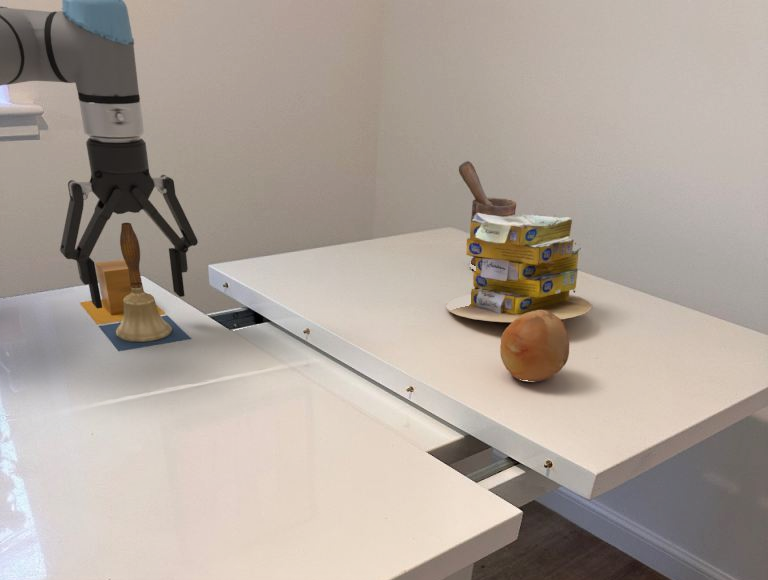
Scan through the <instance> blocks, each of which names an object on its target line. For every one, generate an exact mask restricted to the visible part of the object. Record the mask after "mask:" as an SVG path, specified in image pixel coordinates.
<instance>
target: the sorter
mask: <svg viewBox="0 0 768 580" xmlns="http://www.w3.org/2000/svg"><path fill="white" fill-rule="evenodd" d="M101 303H102V298H101ZM79 305H80V306H81V307H82V308H83V310H84V311H85V312H86V313H87V315H89V317H90V318H91V319H92V321H93V322H94V323H95V324H96V325H97V326H98V328H99V329H100V330H101V331H102V333H103V334H104V336H105V337H106V338H107V339H108V340H109V341H110V343H111V345H113V347H114V348H115V349H116V350H117V351H118V352H124V351H129V350H135V349H141V348H147V347H153V346H159V345H164V344H170V343H176V342H182V341H188V340H192V337H191V336H189V335H188V333H186V332H185V331H184V330H183V329H182V328H181V327H180V325H178V324H177V323H176V322H175V321H174V320H173V319H172V318H171V317H170V316H169V315H167V314H166V312H165V311H163V309H161V307H159V305H157V304H156V306H157V309H158V311H159V314H160V315H161V317H162V318H163V320H164V321H166V322H167V323H168V324H169V325H170V326H171V328H172V332H171V334H169V335H168V336H167V337H165V338H162V339H159V340H155V341H150V342H130V341H125V340H122V339H120V338H119V337H117V335H116V330H117V328H118V326H119V325H120V324H121V322H122V320H123V315H124V313H123V314H116V315H111V314H110V313H109V312H108V310H107V309H106V308H105V307H104V306H103V303H102V308H98V309H97V308H96V307H95V306H94V304H93V303H92V300H86V301H81V302H79Z"/></svg>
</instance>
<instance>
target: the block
mask: <svg viewBox="0 0 768 580" xmlns="http://www.w3.org/2000/svg"><path fill="white" fill-rule="evenodd" d="M94 264H95V269H96V275H97V280H98V286H99V292H100V297H101V299H102V303H103V306H104V307H105V308H106V309H107V310H108V312H109V313H110V314H111V315H116V314H123V313H124V298H125V297H126V296H127V295H129V294H131V293H132V290H131V286H130V283H131V282H130V277H129V270H128V267H127V264H126V262H125V260H124V259H115V260H108V261H99V262H94Z"/></svg>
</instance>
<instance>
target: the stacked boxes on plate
mask: <svg viewBox="0 0 768 580" xmlns="http://www.w3.org/2000/svg"><path fill="white" fill-rule="evenodd" d="M572 224H573V218H571V217H570V216H565V217H564V216H563V217H560V216H557V215H544V214H543V215H542V214H539V212H538V211H537V212H536V213H535V215H534V213H530V214H521V213H518V214H515V215H512V216H510V215H508V217H507V216H506V217H501V216H494V215H486V214H481V213H476V215H475V216H474V218H473V220H472V221H471V220H470V229H469V230H470V232H469V236H468V237H467V238H466V256H469V257H472V258H473V257H474V258H475V264H476V271H473V272H472V286H473V288H472V289H471V291H470V294H471V304H470V305H469V306H465V307H460V308H456V309H453V310H448V309H447V311H448V312H450V313H452V314H453V315H456V316H458V317H463V318H467V319H472V320H479V321H484V322H485V321H486V322H496V323H512V322H513V321H514V320H515V319H517V318H518V317H520V316H521V315H523V314H525V313H528V312H531V311H536V310H548V311H550V312H551V313H553V314H554V315H556V316H557V317H558V318H560V320H565V319H571V318H575V317H578V316H579V317H580V316H582V315H585V314H586V313H587V312H589V311H591V310H592V309H593V306H592V305H593V304H592V303H591V302H590V301H588V300H586V299H584V298H582V297H579V296H576V295H573V294H570V291H573V293H576V287H577V282H578V281H577V279H578V272H579V269H578V263H579V261H578V260H579V251H580V250H581V249H582V247H579V248H578V249H577V250H573V248H574V244H575V245H577V242H574V241H575V239H572V238H571V237H570V236H571V230H572ZM580 245H581V244H580V243H579V244H578V246H580Z"/></svg>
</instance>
